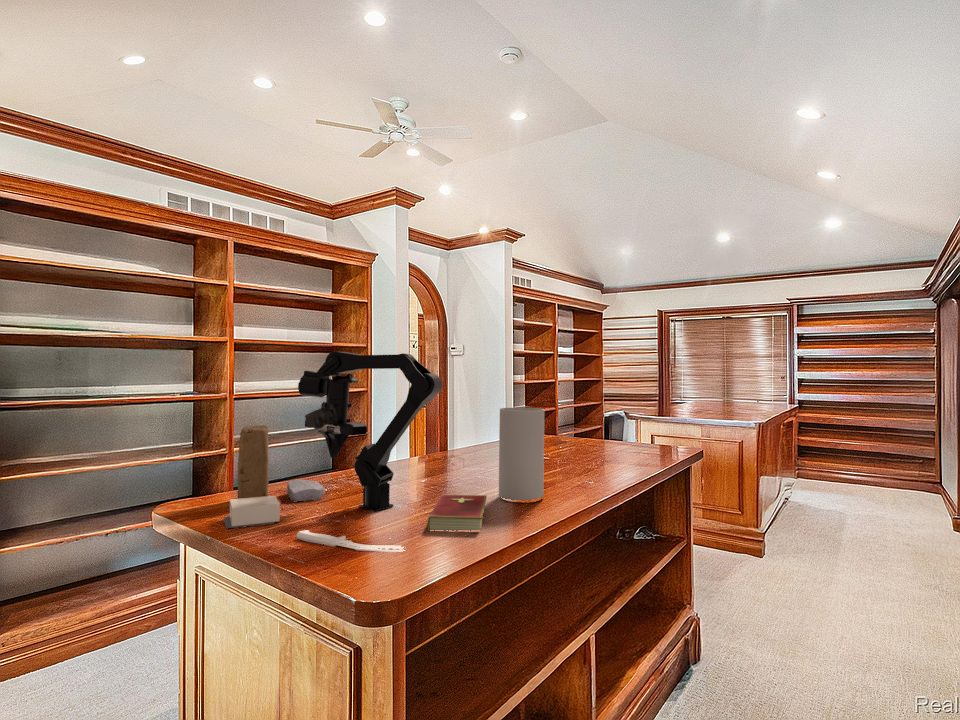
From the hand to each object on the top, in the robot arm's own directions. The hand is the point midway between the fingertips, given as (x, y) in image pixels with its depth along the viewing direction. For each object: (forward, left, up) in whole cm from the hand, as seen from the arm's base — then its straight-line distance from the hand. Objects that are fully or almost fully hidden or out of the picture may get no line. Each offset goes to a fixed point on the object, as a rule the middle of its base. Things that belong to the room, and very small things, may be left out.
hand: (333, 457), depth 144 cm
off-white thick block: (-1, +17, -10) cm, 20 cm away
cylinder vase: (-36, -37, -12) cm, 53 cm away
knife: (-32, +17, -13) cm, 38 cm away
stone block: (+12, -1, -13) cm, 18 cm away
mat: (+2, +23, -12) cm, 26 cm away
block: (+18, +11, -12) cm, 25 cm away
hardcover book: (-35, -9, -13) cm, 39 cm away
